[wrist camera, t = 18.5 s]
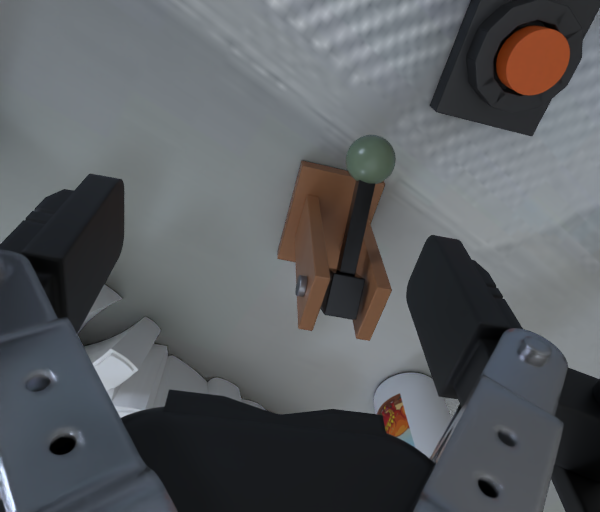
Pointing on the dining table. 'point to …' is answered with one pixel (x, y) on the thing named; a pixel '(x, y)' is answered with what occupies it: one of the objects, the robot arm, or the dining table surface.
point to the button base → (483, 54)
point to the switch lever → (357, 223)
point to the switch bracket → (330, 245)
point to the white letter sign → (145, 366)
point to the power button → (533, 59)
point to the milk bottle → (412, 410)
